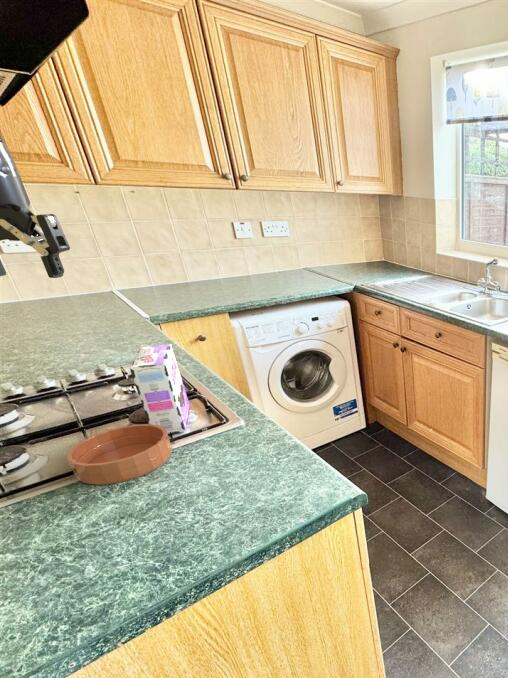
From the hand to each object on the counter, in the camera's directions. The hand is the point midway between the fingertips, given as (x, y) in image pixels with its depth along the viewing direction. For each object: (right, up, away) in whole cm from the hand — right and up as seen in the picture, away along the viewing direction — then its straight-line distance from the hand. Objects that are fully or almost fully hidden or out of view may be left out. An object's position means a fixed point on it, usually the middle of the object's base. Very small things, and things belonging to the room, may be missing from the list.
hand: (27, 276), depth 73 cm
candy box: (+6, -27, +23) cm, 37 cm away
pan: (+9, -34, +9) cm, 36 cm away
